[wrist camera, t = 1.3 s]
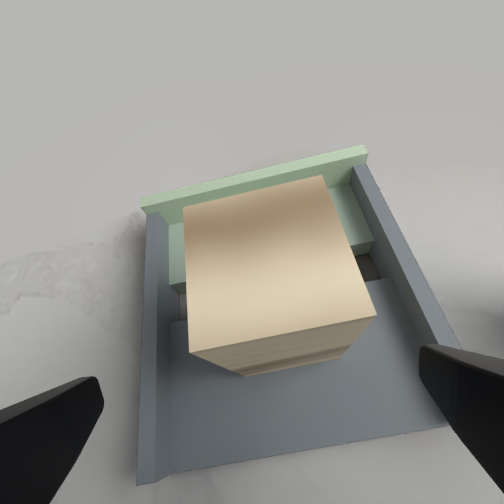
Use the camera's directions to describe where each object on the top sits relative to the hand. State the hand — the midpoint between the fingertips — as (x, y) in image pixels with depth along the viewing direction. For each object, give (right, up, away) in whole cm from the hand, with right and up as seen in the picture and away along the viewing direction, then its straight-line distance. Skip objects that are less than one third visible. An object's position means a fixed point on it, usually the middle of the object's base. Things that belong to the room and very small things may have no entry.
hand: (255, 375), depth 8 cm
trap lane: (+2, 0, +14) cm, 14 cm away
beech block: (+2, -1, +11) cm, 11 cm away
